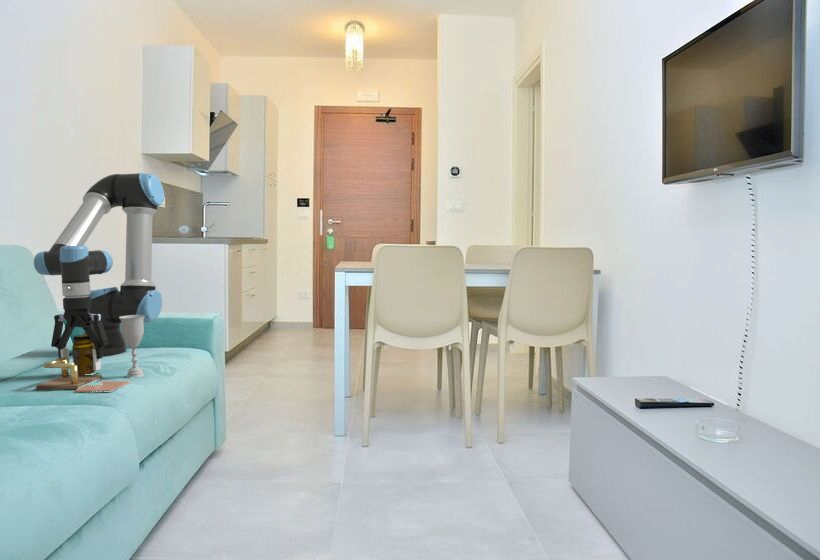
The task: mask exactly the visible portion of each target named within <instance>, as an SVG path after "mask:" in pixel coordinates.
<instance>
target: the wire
mask: <svg viewBox="0 0 820 560" xmlns="http://www.w3.org/2000/svg"><path fill="white" fill-rule="evenodd" d="M43 368H45V369H60V370H61V371H60V372H61V376H62V378H66V377H69V374H71V384H72V385H74V384H78V368H77V365H75V363H73V362H69V363H68V359H66V358H65V357H62V358H59V357H58V358H56V359H54V360H51V361H48V362H45V363H43ZM68 368H70V369H68ZM69 372H70V373H69Z"/></svg>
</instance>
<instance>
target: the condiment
mask: <svg viewBox="0 0 820 560" xmlns="http://www.w3.org/2000/svg"><path fill="white" fill-rule="evenodd" d="M72 340H73V341H72V343H73V345H72V347H71V349H72V350H71V352H72V363H75V365H77V368H78V375H85V374H91V373H94V372H95V371H96V372H97V370H94V367H93V351H92V349H94V348H95V347H94V345H93V343H92V342H91V340H90V338H89V337H88V335H84V334H77V335H74V336H73V337H72Z"/></svg>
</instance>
